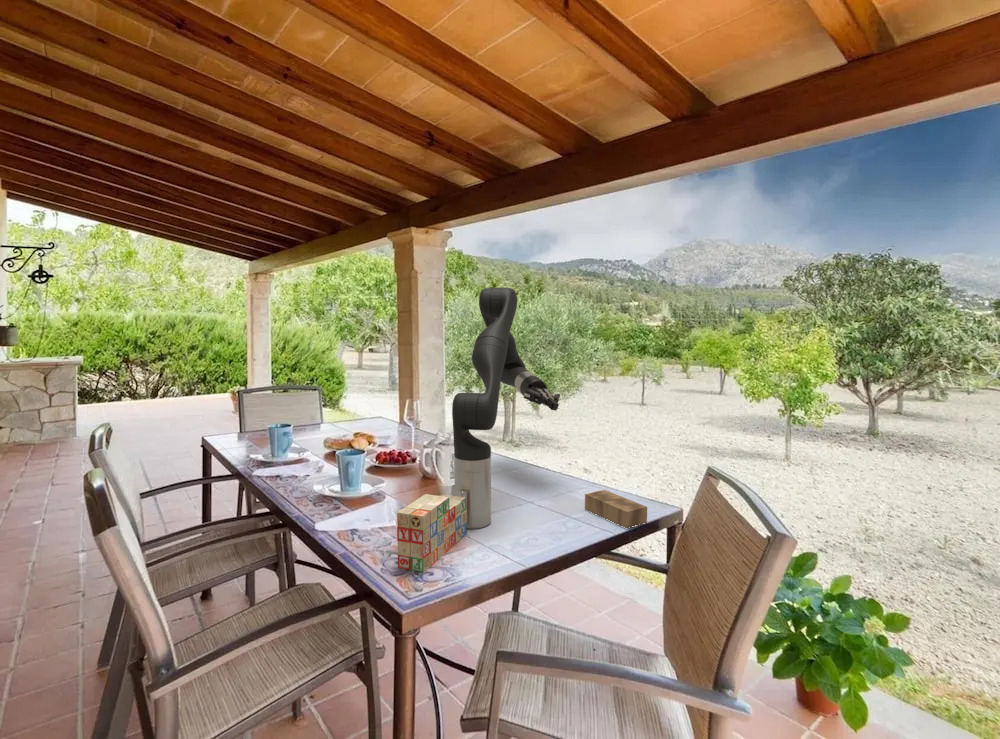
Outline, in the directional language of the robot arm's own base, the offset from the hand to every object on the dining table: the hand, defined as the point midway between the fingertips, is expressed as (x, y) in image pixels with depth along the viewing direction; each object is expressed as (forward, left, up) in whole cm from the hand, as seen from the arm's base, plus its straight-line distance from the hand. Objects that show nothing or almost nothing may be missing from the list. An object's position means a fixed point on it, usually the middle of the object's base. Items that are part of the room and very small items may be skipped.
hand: (555, 407), depth 158 cm
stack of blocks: (-47, -17, -26) cm, 56 cm away
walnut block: (+2, -15, -24) cm, 28 cm away
